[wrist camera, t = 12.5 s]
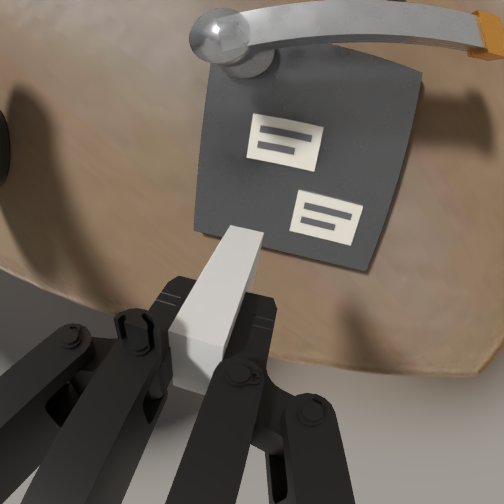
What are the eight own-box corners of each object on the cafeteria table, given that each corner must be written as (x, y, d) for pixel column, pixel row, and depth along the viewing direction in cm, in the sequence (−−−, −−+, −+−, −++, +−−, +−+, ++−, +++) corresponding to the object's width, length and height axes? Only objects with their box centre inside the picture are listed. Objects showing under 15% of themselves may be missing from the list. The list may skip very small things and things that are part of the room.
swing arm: (210, 73, 18) (192, 69, 15) (201, 27, 16) (182, 17, 13) (488, 65, 12) (510, 63, 9) (478, 19, 10) (498, 12, 8)
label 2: (289, 229, 27) (289, 231, 27) (298, 189, 25) (298, 190, 25) (350, 244, 27) (350, 246, 26) (362, 205, 25) (363, 207, 24)
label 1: (247, 157, 25) (246, 157, 25) (253, 113, 23) (252, 113, 23) (314, 171, 24) (314, 172, 24) (323, 127, 22) (323, 127, 22)
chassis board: (197, 226, 31) (175, 250, 26) (221, 28, 20) (198, 13, 16) (364, 265, 29) (371, 297, 24) (418, 69, 18) (442, 62, 14)
